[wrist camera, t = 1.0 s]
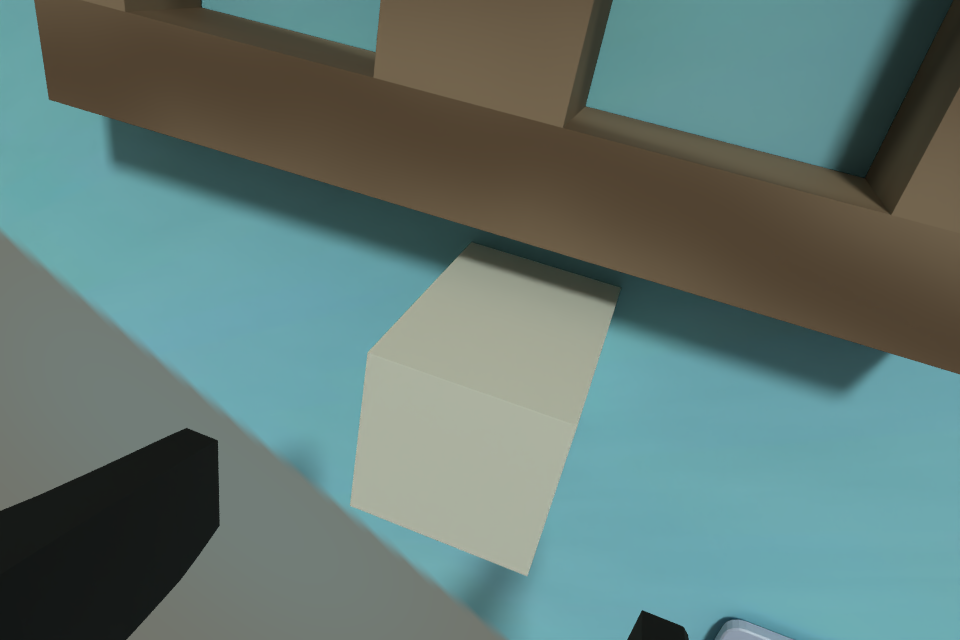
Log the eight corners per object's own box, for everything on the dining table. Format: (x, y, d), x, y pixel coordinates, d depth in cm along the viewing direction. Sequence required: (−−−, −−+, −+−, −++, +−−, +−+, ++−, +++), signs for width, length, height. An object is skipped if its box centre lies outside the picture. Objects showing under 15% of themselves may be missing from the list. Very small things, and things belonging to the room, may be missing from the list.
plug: (580, 411, 18) (527, 576, 13) (448, 366, 19) (350, 506, 14) (621, 287, 16) (577, 425, 11) (471, 241, 17) (367, 352, 12)
